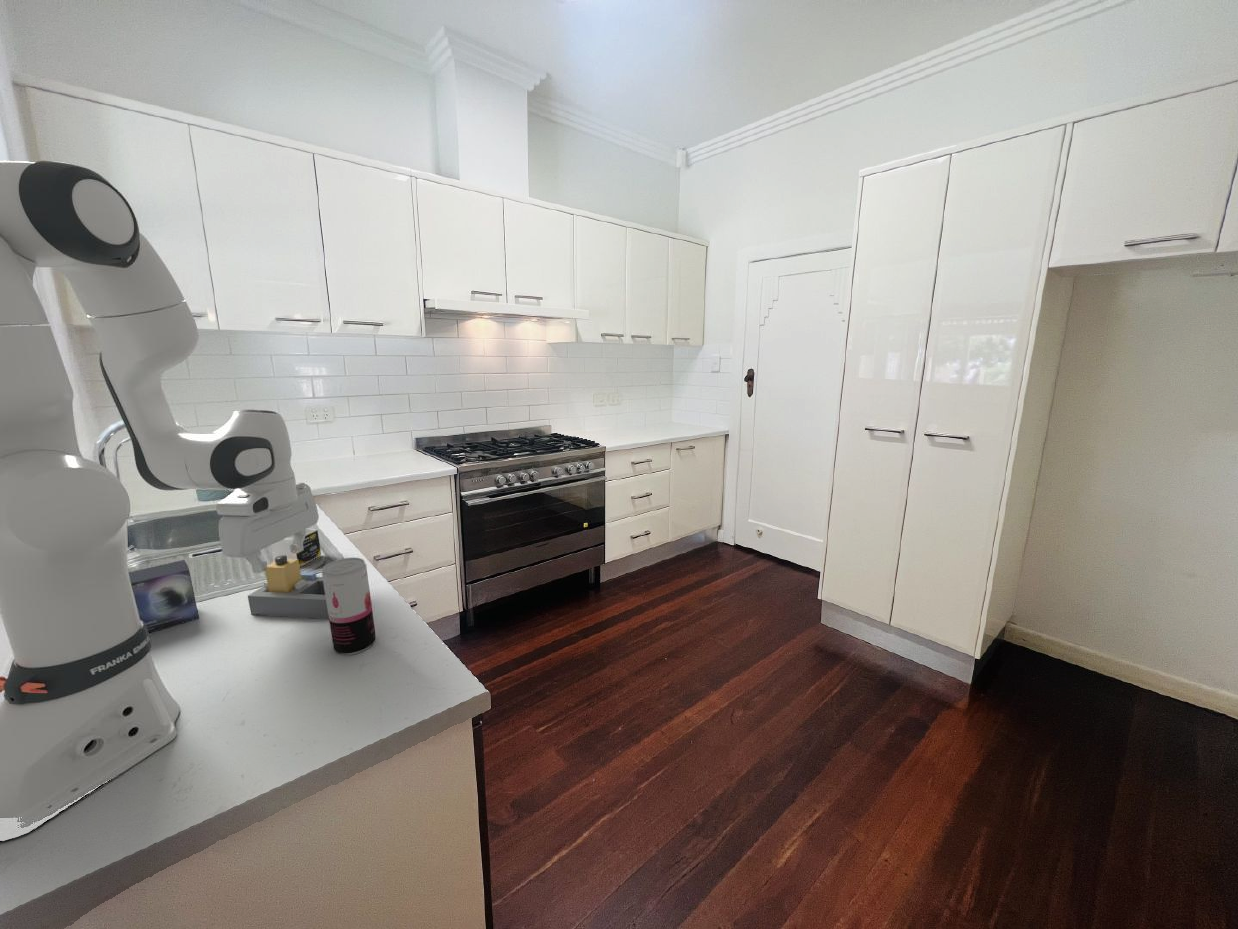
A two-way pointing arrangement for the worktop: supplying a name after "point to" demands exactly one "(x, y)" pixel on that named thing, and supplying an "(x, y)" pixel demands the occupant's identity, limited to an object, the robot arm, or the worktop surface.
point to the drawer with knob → (283, 574)
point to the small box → (164, 595)
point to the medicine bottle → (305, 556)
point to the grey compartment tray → (292, 599)
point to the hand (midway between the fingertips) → (279, 561)
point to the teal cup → (211, 494)
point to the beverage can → (349, 605)
